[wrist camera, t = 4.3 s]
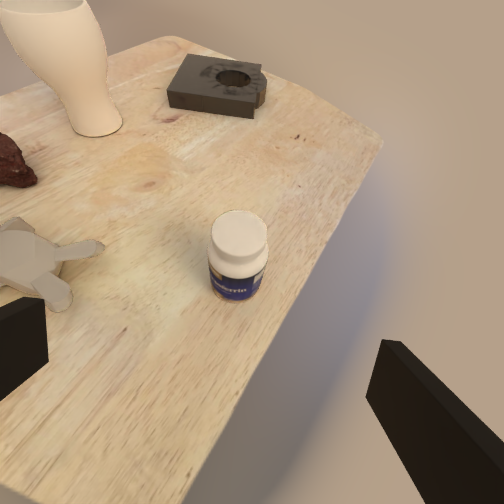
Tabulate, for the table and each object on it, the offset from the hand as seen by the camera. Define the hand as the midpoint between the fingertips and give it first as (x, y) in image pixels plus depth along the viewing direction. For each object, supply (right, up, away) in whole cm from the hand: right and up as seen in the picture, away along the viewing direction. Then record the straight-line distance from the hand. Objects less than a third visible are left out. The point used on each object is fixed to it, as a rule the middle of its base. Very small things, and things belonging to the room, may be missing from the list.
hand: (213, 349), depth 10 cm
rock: (-33, +16, +25) cm, 44 cm away
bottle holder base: (-5, +37, +41) cm, 55 cm away
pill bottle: (0, 0, +19) cm, 19 cm away
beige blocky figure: (-22, +1, +17) cm, 28 cm away
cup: (-25, +26, +32) cm, 48 cm away
